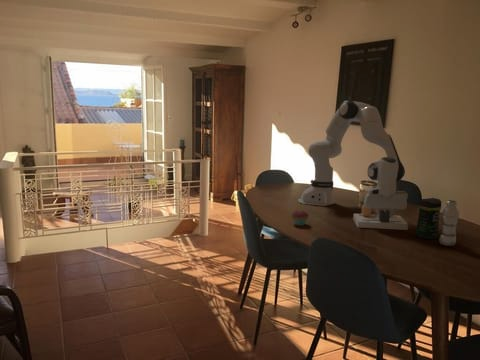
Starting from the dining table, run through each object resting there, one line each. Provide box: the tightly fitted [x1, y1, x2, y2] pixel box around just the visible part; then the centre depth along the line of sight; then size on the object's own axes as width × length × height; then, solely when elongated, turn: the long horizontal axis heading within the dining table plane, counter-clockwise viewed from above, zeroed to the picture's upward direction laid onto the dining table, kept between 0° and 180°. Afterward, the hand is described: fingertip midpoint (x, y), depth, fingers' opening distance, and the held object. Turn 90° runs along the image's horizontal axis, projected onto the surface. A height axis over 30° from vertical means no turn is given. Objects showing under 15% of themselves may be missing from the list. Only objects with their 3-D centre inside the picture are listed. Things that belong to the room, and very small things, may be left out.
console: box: [352, 213, 409, 231], centre depth 206 cm, size 24×16×3 cm, turn 82°
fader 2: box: [378, 209, 391, 222], centre depth 200 cm, size 4×5×5 cm
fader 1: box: [361, 204, 373, 217], centre depth 210 cm, size 4×5×5 cm
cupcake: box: [291, 202, 310, 227], centre depth 202 cm, size 9×8×12 cm
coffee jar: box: [415, 197, 442, 240], centre depth 184 cm, size 10×8×19 cm
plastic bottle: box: [438, 199, 460, 247], centre depth 173 cm, size 6×7×20 cm
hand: (384, 217), depth 201 cm, fingers closed on fader 2, 4 cm apart
